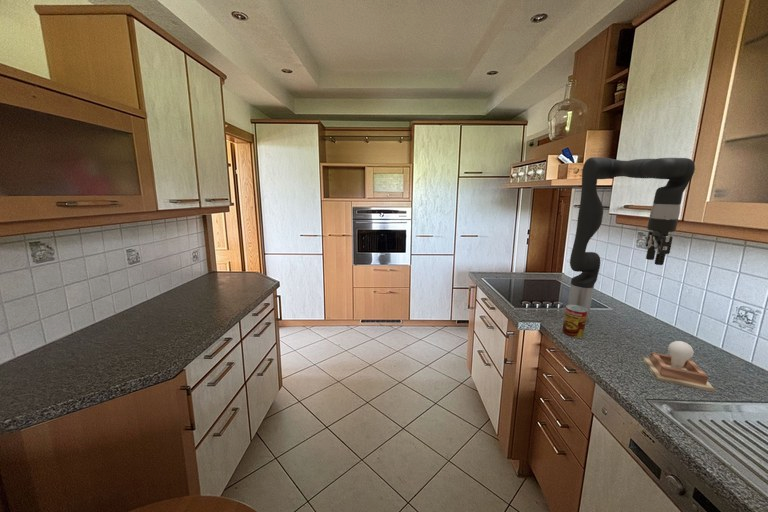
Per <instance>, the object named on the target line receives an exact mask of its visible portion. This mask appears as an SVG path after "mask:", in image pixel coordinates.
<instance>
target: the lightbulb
mask: <svg viewBox="0 0 768 512" xmlns="http://www.w3.org/2000/svg"><path fill="white" fill-rule="evenodd" d="M667 349H668V353H669V355H670V356H671V363H672V364H671V368H677V369H682V367H683V366H684V364H685V362H686V361H687V360H689V359H691V358H693V356H694V353H695V352H694V348H693V347H692V345H690V344H689V343H687V342H685V341H682V340H676V341H675V340H674V341H672V342H670V343H669V344H668V348H667Z"/></svg>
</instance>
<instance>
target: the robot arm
mask: <svg viewBox="0 0 768 512" xmlns="http://www.w3.org/2000/svg"><path fill="white" fill-rule="evenodd" d="M695 167H696V165H695V162H694V160H693V159H690V158H688V157H661V158H659V157H658V158H638V159H630V160H621V159H613V158H611V157H610V158H609V157H602V156H600V157H598V156H594V157H588V158H587V160H585V162H584V163H583V166H582V172H581V190H580V191H581V193H580V201H579V209H578V215H577V224H576V231H575V237H574V240H573V246H572V249H571V254H570V257H569V258H570V259H569V266H570V268H571V270H572V271H573V272H580V273H579V274H578V275H576V276H573V277H571V280H570V284H569V285H570V286H569V293H568V300H567V305H578V306H582V307H584V308H586V309H587V310H588V311H587V317H586V323H588V322H589V317H590V312H591V305H592V299H593V295H594V289H595V288H594V287H595V285H596V283H597V280H598V276H599V272H600V268H601V257H600V255H599V254H598V253H597V252H594V251H586V250H587V247H588V244H589V242H590V240H591V239H592V237H593V236H594V235H595V234H596V232H598V230H600V229H599V228H601V225H602V222H603V215H604V205H603V203H602V200H601V199H600V197H599V194H598V190H597V186H598V184H597V183H598V180H606V179H611V178H612V179H613V178H617V177H618V178H619V177H624V178H626V177H627V178H633V179H654V180H656V179H657V180H668V181H667V183H666V184H665V185H664V186H660V187H658V188H657V189H656V190H655V194H654V197H653V201H652V202H653V203H652V206H651V210H650V213H649V217H648V222H647V227H646V229H647V230H649V231H648V234H647V238H646V243H645V247H646V249H647V251H646V256H645V259H646V260H649V261H654V265H657V266H663V265H664V262H665V258H666V255H669V254H670V253H671V249H672V243H673V239H674V238H673V237H674V236H672V235H669V233H675V232H676V230H677V225H678V222H679V217H680V212H681V203H682V199H683V194H684V192H685V190H686V188H687V187H688V185H689V184H690V182H691V179H692V177H693V175H694V173H695V169H696V168H695ZM654 259H655V260H654Z"/></svg>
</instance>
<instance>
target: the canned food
mask: <svg viewBox="0 0 768 512" xmlns="http://www.w3.org/2000/svg"><path fill="white" fill-rule="evenodd" d="M587 311H588V310H587V309H586V308H584V307H582V306H578V305H568V304H566V305H565V311H564V318H563V322H562V323H563V324H562V331H561V332H562V334H563V335H565V336H567V337H569V336H570V337H569V338H573V337H575V339H582V338H583V337H584V333H585V328H586V324H587V322H586V317H587ZM581 337H582V338H581Z"/></svg>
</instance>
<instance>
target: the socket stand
mask: <svg viewBox="0 0 768 512" xmlns="http://www.w3.org/2000/svg"><path fill="white" fill-rule="evenodd" d="M649 356H650V357H647V356H642V360H643V362H644V363H645V365H646V366H647V367H648V369H649V371H650V372H651V373H652V375H653V376H654V378H655V380H656V381H659V382H660V381H661V382H665V383H670V384H673V385H674V384H675V385H679V386H683V387H689V388H693V389H698V390H702V391H703V390H704V391H708V392H713V393H715V391H716V389H715V387H713V385H712V384H711V383H710V382H709V376H708V375H707V374H706V372H705V371H703V370H702V368H701V367H699V365H698V364H696V363H695V362H694V360H693V359H691V358H690V359H689V360H687V361H686V362H685V364H684V366H683V367H682V369H677V368H671V364H672V363H671V355H670V354H663V353H658V352H654V351H652V352H650V355H649Z"/></svg>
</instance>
